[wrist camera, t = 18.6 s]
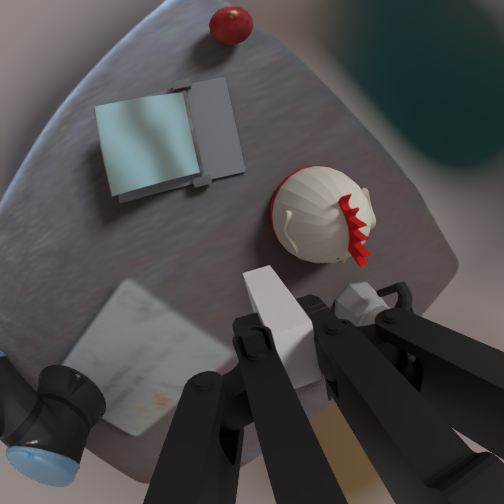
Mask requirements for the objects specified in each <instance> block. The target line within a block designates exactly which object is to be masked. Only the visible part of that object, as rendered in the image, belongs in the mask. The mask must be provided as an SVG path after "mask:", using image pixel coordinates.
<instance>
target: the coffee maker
mask: <svg viewBox="0 0 504 504" xmlns="http://www.w3.org/2000/svg"><path fill="white" fill-rule="evenodd" d="M395 292H397V293H398V301H397V303H396V305H395V308H400V309H404V310H406V311H409V312H410V311H411V313H413V314H416V315H417V312H416V308H415V306H413V305H412V293H411V292H410V290H409V288H408V287H407V285H406V283H405V282H400V283H397V284H394V285H391V286H389V287H386V288H383V289H380V290H378V291H377V292H376V291H375V290H374V289H373V288H372V287H371V286H370V285H369V284H368V283H367V282H360V283H352V284H348V285H347V287H346V288H345V289H344V290H343V291H342V292H341V293H340V294H339V295H338V297H337V298H336V299H335V309H334V314H335V315H336V316H337V317H338V319H346V320H349V321H350V322H352V323H353V324H354V325H355V326H366V325H371V324H375V317H376V315H377V314H378V313H379V312H381V311H383V310H385V309H389V307H388V306H387V305H386V304H385V302H384V301H383V300H382V299H381V297H382V296H386V295H389V294H392V293H395ZM409 358H411V359H413V360H415V358H416V357H414V356H413V355H411V354H409Z"/></svg>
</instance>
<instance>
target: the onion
mask: <svg viewBox="0 0 504 504" xmlns="http://www.w3.org/2000/svg"><path fill="white" fill-rule="evenodd" d="M209 27H210V33H211V34H212V36H213V37H214V38H215V39H216V40H218V41H219V42H221V43H225V44H238V43H240V42H243V41H244V40H245V39H246V38H248V37H249V35H250V34H251V32H252V29H253V20H252V18H251V16H250V15H249V13H248V12H247V11H245V10H244V9H242V8H240V7H224V8H222V9H220V10H218V11H217V12H216V13H215V14H214V15H213V16H212V18H211V20H210V23H209Z"/></svg>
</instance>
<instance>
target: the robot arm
mask: <svg viewBox="0 0 504 504" xmlns="http://www.w3.org/2000/svg"><path fill="white" fill-rule="evenodd" d="M243 277H244V280H245V284H246V287H247V291H248V294H249V298H250V301H251V305H252V308H253V312H254V313H253V314H250V315H246V316H243V317H239V318H236V319H235V321H234V323H233V325H232V326H233V331H234V335H235V336H234V337H233V341H232V342H233V345H234V348H235V351H236V353H237V356H238V359H239V363H238V364H237V366H236V367H235V368H234V369H233V370H231V371H230V372H228V373H226V374H224V375H222V376H221V375H220V374H219V373H217V372H214V371H206V372H202V373H199V374H197V375H194V376H193V377H192V378H190V379H189V380H188V381H187V383H186V384H185V386H184V389H183V392H182V395H181V397H180V400H179V403H178V406H177V409H176V411H175V414H174V417H173V420H172V422H171V425H170V428H169V431H168V434H167V436H166V439H165V442H164V445H163V448H162V450H161V453H160V456H159V459H158V462H157V465H156V468H155V470H154V473H153V476H152V479H151V482H150V485H149V488H148V491H147V494H146V496H145V499H144V503H143V504H235V502H236V495H237V487H238V478H239V470H240V462H241V454H242V446H243V437H244V427H245V426H246V425H248V424H250V423H252V422H254V423H255V427H256V431H257V435H258V439H259V442H260V446H261V450H262V454H263V457H264V461H265V465H266V468H267V472H268V476H269V479H270V483H271V486H272V490H273V493H274V496H275V500H276V503H277V504H348V503H347V501H346V498H345V497H344V494H343V492H342V490H341V488H340V486H339V484H338V482H337V480H336V478H335V476H334V474H333V471H332V469H331V467H330V465H329V463H328V461H327V459H326V457H325V454H324V453H323V450H322V448H321V446H320V444H319V442H318V440H317V437H316V435H315V433H314V431H313V429H312V427H311V425H310V422H309V420H308V418H307V416H306V414H305V412H304V409H303V407H302V405H301V403H300V401H299V399H298V396H297V394H296V392H295V390H294V389H296V388H299V387H302V386H305V385H308V384H311V383H313V382H316V381H319V380H322V376H321V371H322V373H323V375H324V376H325V382H326V389H327V395H328V400H331V396H332V397H333V399H334V401H335V402H336V404H337V406H338V407H339V409H340V411H341V412H342V414H343V416H344V418H345V419H346V421H347V422H348V424H349V426H350V428H351V429H352V431H353V433H354V434H355V436H356V438H357V439H358V441H359V443H360V444H361V446H362V448H363V450H364V451H365V453H366V455H367V456H368V458H369V460H370V461H371V463H372V465H373V466H374V468H375V470H376V471H377V473H378V475H379V477H380V478H381V480H382V482H383V483H384V485H385V487H386V488H387V490H388V492H389V493H390V495H391V497H392V498H393V500H394V502H395V503H396V504H504V463H503V462H502V461H501V460H500V459H499V458H498V457H497V456H499V457H500V458H502V459H503V460H504V352H502V351H500V350H498V349H495V348H493V347H491V346H488V345H486V344H484V343H481V342H479V341H477V340H474V339H472V338H470V337H467V336H465V335H463V334H460V333H458V332H456V331H453V330H451V329H449V328H446V327H444V326H442V325H439V324H437V323H435V322H432V321H430V320H427V319H425V318H423V317H420V316H418V315H416V314H413V313H411V312H409V311H406V310H404V309H400V308H389V309H385V310H383V311H381V312H379V313H378V314H377V315H376V317H375V324H371V325H366V326H355V325H354V324H353V323H352V322H350V321H349V320H346V319H338V317H337V316H336V315H335V314H334V313H333V312H332V311H331V310H330V309H329V308H328V307H327V306H326V305H325V303H323V301H322V300H321V299H320V298H319V297H317V296H314V295H311V294H310V295H307V296H304V297H301V298H298V299H295V298H294V297H293V296H292V294H291V293H290V292H289V290H288V289H287V288H286V286H285V285H284V284H283V282H282V281H281V280H280V278H279V277H278V276H277V274H276V273H275V272H274V270H273V269H272V268H271V266H270V265H268V266H265V267H262V268H258V269H255V270H252V271H248V272H245V273H243ZM409 354H411V355H413V356H414V357H416V358H415V360H413V359H411V358H409ZM320 370H321V371H320ZM75 374H79V375H80V376H81V378H79V377H77V376H76V375H75ZM105 411H106V402H105V399H104V396H103V394H102V393H101V391H100V390H99V388H98V387H97V386H96V385H95V384H94V383H93V382H92V381H91V380H90V379H89V378H88V377H86V376H85V375H84V374H82V373H80V372H79V371H77V370H75V369H72V368H70V367H66V366H62V365H52V366H48V367H46V368H45V369H43V370H42V372H41V373H40V376H39V386H38V391H37V393H36V392H35V391H34V389H33V388H32V387H31V386H30V385H29V384H28V383H27V382H26V380H25V379H24V378H23V377H22V376H21V374H20V373H19V372H18V371H17V370H16V368H15V367H14V366H13V365H12V363H11V362H10V361H9V360H8V358H7V355H6V354H5V353H3V352H2V351H1V349H0V440H1V441H2V442H3V443H4V444H5V445H6V446H7V447H8V448H7V450H6V452H7V453H6V456H7V459H8V460H9V461H10V463H11V465H12V466H13V467H15V468H16V469H17V470H18V471H20V472H21V473H22V474H24V475H26V476H27V477H29V478H31V479H33V480H35V481H38V482H40V483H43V484H46V485H50V486H56V487H64V486H68V485H70V484H71V483H72V482H73V481H74V479H75V476H76V474H77V471H78V470H79V468H80V467H79V464H80V461H81V457H82V454H83V450H84V447H85V444H86V440H87V437H88V434H89V431H90V429H91V428H92V427H93V426H94V425H95V424H96V423H97V421H98V420H99V419H100V418H101V417H102V416H103V415H104V413H105ZM102 412H103V413H102ZM451 427H452V428H454V429H455V430H457V431H458V432H460V433H461V434H463V435H464V436H466V437H468V438H469V439H471V440H472V441H474V442H476V443H477V444H479V445H480V446H482V447H484V448H485V449H487V450H489V451H490V452H492V453H489V452H481V453H476V452H474V451H472V450H471V449H470V448H469V447H468V446H467V444H466V443H465V442H464V441H463V440H462V439H461V438H460V437H459V435H457V433H456V432H455V431H454V430H453V429H452V428H451ZM494 454H495V455H497V456H495V455H494Z"/></svg>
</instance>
